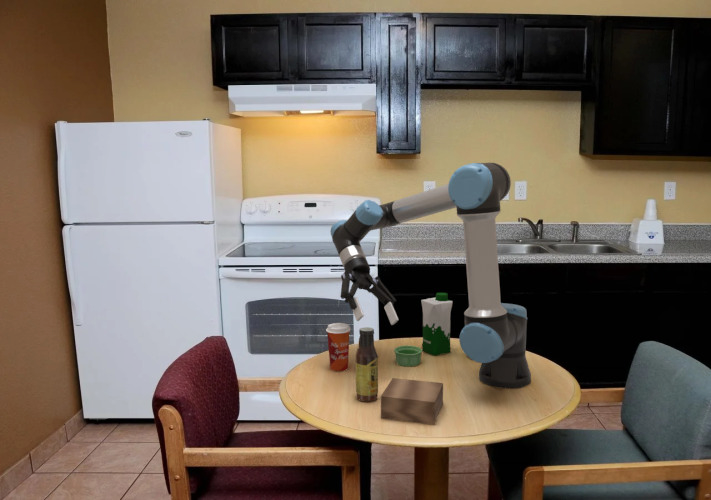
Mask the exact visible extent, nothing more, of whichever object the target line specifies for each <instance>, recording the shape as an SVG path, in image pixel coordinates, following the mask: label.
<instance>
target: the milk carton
mask: <svg viewBox="0 0 711 500" xmlns="http://www.w3.org/2000/svg"><path fill="white" fill-rule="evenodd" d="M448 296H449V295H448V293H447V292H436V294H435V297H431V298H430V297H428V298H426V299H421V300H420V301H421V307H422V343H421V344H422V348H421V349H422V352H425V353H427V354H429V355H431V356H433V357H435V356H440V355H444V354H445V355H446V354H448V353H452V352H451V350H452V349H451V311H452V308H453V300H450V299H449V297H448Z"/></svg>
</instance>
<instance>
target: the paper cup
mask: <svg viewBox="0 0 711 500" xmlns="http://www.w3.org/2000/svg"><path fill="white" fill-rule="evenodd" d="M351 330H352V329H351V326H350V325H349V324H347V323H346V322H345V323H344V322H335V323H330V324H328V325H327V327H326V329H325V331H326V333H327V348H328V359H329V367H330V370H331V371H332V372H333V371H334V372H344V370H345V371H346V369H347V368H349V356H350V355H349V351H350V331H351ZM347 370H348V369H347Z"/></svg>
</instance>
